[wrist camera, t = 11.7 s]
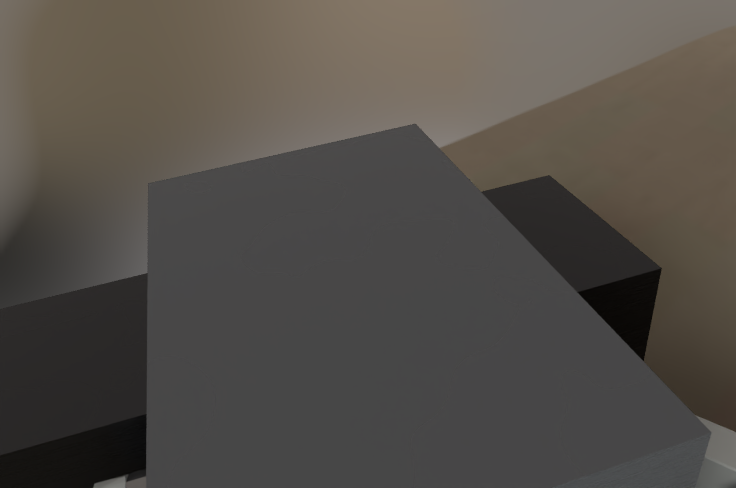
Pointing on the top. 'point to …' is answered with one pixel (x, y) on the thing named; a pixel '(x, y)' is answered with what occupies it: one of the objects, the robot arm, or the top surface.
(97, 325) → the rack rail
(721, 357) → the top surface
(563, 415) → the block
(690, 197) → the top surface
